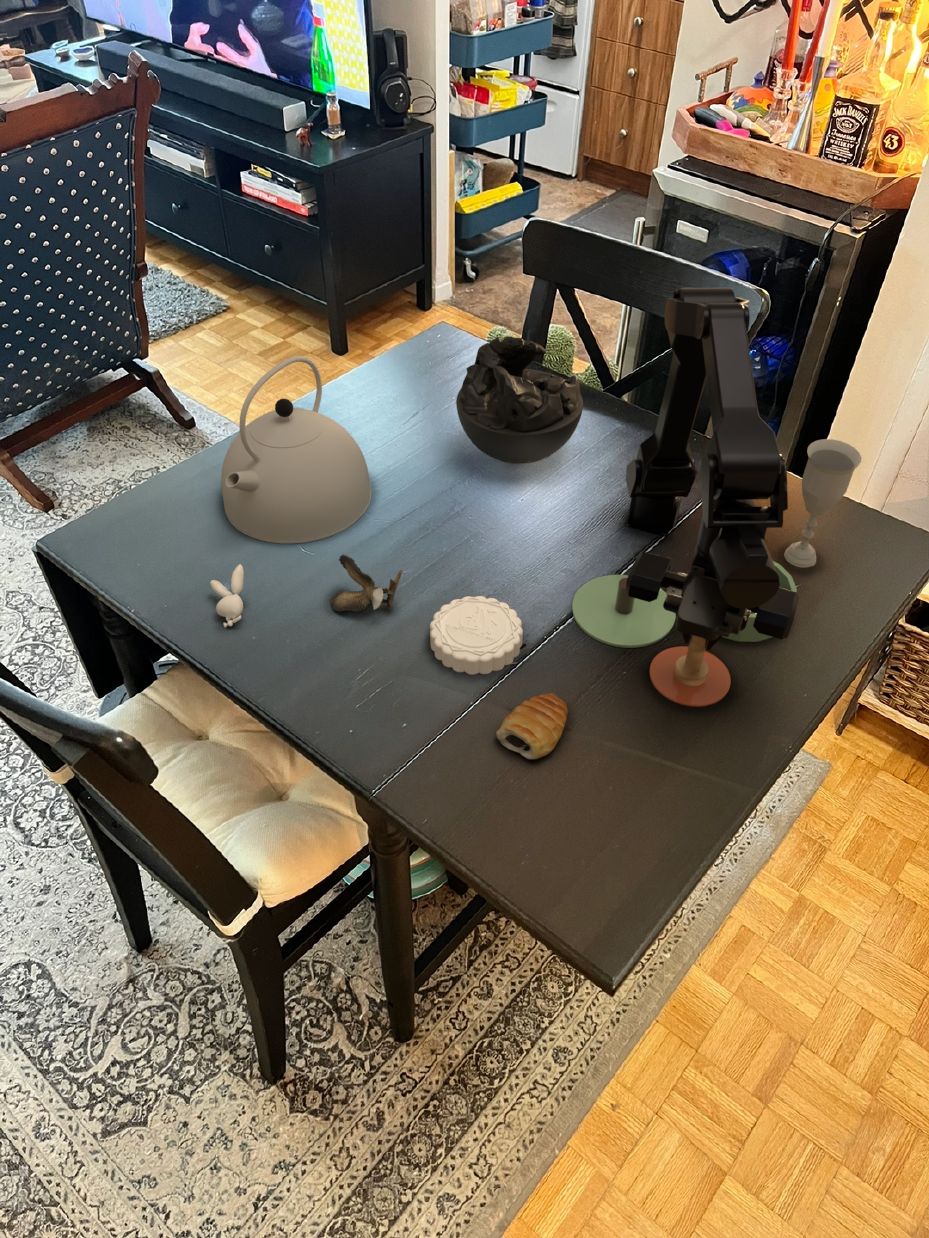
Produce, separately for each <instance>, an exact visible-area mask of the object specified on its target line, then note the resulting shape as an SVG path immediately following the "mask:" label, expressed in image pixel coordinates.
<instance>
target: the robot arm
mask: <svg viewBox="0 0 929 1238" xmlns="http://www.w3.org/2000/svg"><path fill="white" fill-rule="evenodd" d="M749 305H750V300H748V299H745V298H742V297H736V296H735V291H734V289H733V288H732V287H678V289H674V291H673V292H672V294H671V297H669V298H667V300H666V303H665V308H664V326H665V329H666V330H667V334H668V339H669V344H670V349H671V351H672V359H671V363H670V367H669V371H668V376H667V380H666V384H665V388H664V392H663V397H662V401H661V406H660V409H659V413H658V417H657V423H656V427H655V431H654V433H653V434H651V435H650V436H649V437H647V438H646V439H645V440H644V441H642V442H641V443H640V444H639V447H638V451H637V454H636V458H635V459H632V461H630V462H629V463H628V464H627V465H626V469H625V482H626V487H627V491H628V495H629V498H630V504H629V509H628V515H627V518H626V520H625V522H624V524H623V525H624V527H625V528H628V529H633V530H636V531H640V532H644V533H648V534H651V535H656V536H660V537H663V538H664V537H667V536H668V534H669V532H670V530H673V529H674V527H675V526H676V523H677V522H678V518H679V513H680V508H681V503H682V498H688V496H689V494H690V493H691V490H692V488H693V486H694V483H695V480H696V476H697V475H698V468H697V467H696V464H695V463H696V462H695V460H694V459H693V455H692V449H691V444H690V442H689V441H690V438H691V435H692V432H693V431H692V430H693V427H694V424H695V420H696V416H697V414H698V409H699V406H700V402H701V399H702V395H703V391H704V388H705V384H707V385H706V386H707V392H708V400H709V401H708V402H709V410H710V417H711V427H712V434H711V437H710V439H709V442H708V444H707V445H706V448H705V449H704V452H703V455H702V458H701V462H700V472H699V476H700V479H699V480H700V493H701V494H700V496H701V508H702V509H701V510H702V516H701V520H700V524H699V529H698V533H697V538H696V541H695V547H694V551H693V555H692V560H691V562H690V563H691V564H690V567H689V572H688V573H685V572H681V571H678V572H677V573H676V572H671V571H669V570H670V569H671V567H672V561H673V559H672V558H671V557H667V556H663V555H660V554H659V555H658V554H655V553H651V552H648V551H641V552H640V553H639V554H637V556H636V557H635V560H634V562H633V564H632V567H631V568H630V571H629V573H628V574H627V575H628V578H627V581H626V587H625V593H626V594H627V596H629V597H633V598H636V599H640V600H643V601H647V602H651V601H654V600H656V599H657V598H658V595H659V590H660V588H661V589H662V588H665V589H666V591H665V593H666V595H667V596H666V599H665V601H664V604H663V608H664V609H665V610H667V611H670V612H673V613H675V614H676V620H675V628H676V630H677V631H678V632H679V633H681V634H682V638H683V641H684V644H685V645H689V643H690V639H691V635H694V636H698V637H701V638H703V639H705V640H708V641H707V645H706V649H705V651H711V649H712V648H713V647H714V646H715V645H716V644H717V643H718V641H719V640H720V639H721V638H723V637H722V636H726V637H728V636H729V634H730V633H733V634H739V631H743V630H744V629H745V627H746V624H747V621H748V618H749V616H750V614H752V613H754V614H756V617H755V621H754V624H753V627H754V628H755V629H756V630H757V632H758V633H761V634H764V635H768V636H771V637H772V638H775V639H778V640H785V639H788V637H789V635H790V632H791V629H792V626H793V623H794V620H795V616H796V612H797V608H798V604H799V601H800V596H799V595H798V593H797V592H795V591H791V590H787V589H784V588H780V581H779V576H778V573H777V571H776V568H775V565H774V563H773V561H774V560H773V558H772V556H771V552H770V550H769V548H768V545H767V542H766V538H765V537H766V534H767V533H766V532H767V529H773V528H775V529H776V528H778V529H779V528H780V529H782V528H783V526H784V512H786V511H788V509H789V500H788V499H789V497H788V496H789V495H788V468H787V465H786V463H785V462H786V459H785V458H784V456H783V455H782V454H781V453H780V450H779V445H778V441H777V437H776V433H775V431H774V430H773V428H771V427H770V426H769V424H767V423H766V422H765V420H763V418H762V417H760V412H759V408H758V401H757V394H756V387H755V379H754V373H753V366H752V359H751V352H750V345H749V338H748V332H749V328H750V318H751V317H750V316H751V315H750V309H749ZM754 500H769V502H770V504H769V506H757V505H756V503H755V501H754Z"/></svg>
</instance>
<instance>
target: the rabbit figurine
mask: <svg viewBox="0 0 929 1238" xmlns="http://www.w3.org/2000/svg"><path fill="white" fill-rule="evenodd" d="M244 571H245V570H244V567H243V564H241V563H240V564H237V566H236V567H235V568H234V569H233V572H232V574H231V579H230V580H231V581H230V586H231V587H230V588H231V591H230V590H228V589H227V587H225V586H224V584H222V582H220V581H218V580H216V579H211V580H210V587H211V589H212V590H213V592H214V593H215V594H216V595H218V596H219V597H221V599H220V600H219V601H218V602H217V604H216V607H215V611H216V613H217V614H218V615H219V616H220V617H222V618H223V617H224V618H225V621H226V622H223V624H222V625H223V627H224V629H226V628H227V627H232V626H233V625H234V624H235V623H238V622H239V621H241V619H242V615H241V614H242V613H243V611H244V602H243V599H242V598H241V596H239V594H240V593H242V591H243V588H244V579H245V578H244V577H245V572H244Z"/></svg>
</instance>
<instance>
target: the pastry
mask: <svg viewBox="0 0 929 1238" xmlns="http://www.w3.org/2000/svg"><path fill="white" fill-rule="evenodd" d="M568 713H569V710H568V705H567V704H566V703H565V701H564V700H563V699H561V698H559V697H558V696H557V695H556V694H555V693H552V692H551V693H542V694H539V695H533V696H532V697H530V698H529V699H526V700H523V701H522V702H521V704H520V705H516V706H515V707H514V709H513V710H512V711H511V712H510V713H507V714H506V715H505V716H504V718H503V720H502V723H501V725H500V727H499V729H497V730H496V732H495V736H496V738H497V740H498V741H499V742H500V744H501V745H502V746H504V747H505V748H507V749H508V750H511V751H512V752H516V753H519V754H520V755H521V756H522V757H524V758H525V759H527V760H538V759H540V758H543V757H545V756H547V755H549V754H550V753H551V752H552V751H553V750H554V749H555V747H556V745H557V744H558V742H559V740H560V739H561V737H562V735H563V732H564V728H565V725H566V723H567V719H568Z"/></svg>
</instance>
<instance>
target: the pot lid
mask: <svg viewBox="0 0 929 1238" xmlns="http://www.w3.org/2000/svg"><path fill="white" fill-rule="evenodd" d="M628 575H629V574H608V575H602V576H598V577H595V578H593V579H590V580H589V581H587V582H585V583H584V584H583V585H581V586H580V587H579V588H578V590H577V591H576V592H575V594H574V596H573V598H572V603H571V612H572V616H573V619H574V621H575V623H576V624H577V626H578V627H579V629H580V630H582V631H583V632H584V633H585V634H586V635H587V636H589V637H590V638H592V639H594V640H596V641H597V642H600V643H602V644H605V645H607V646H612V647H616V648H621V649H622V648H623V649H635V648H636V649H637V648H643V647H647V646H651V645H654V644H656V643H658V642H660V641H661V640H663V639H664V638H665V637H667V636H668V635H669V634H670V633H671V631H672V630H673V627H674V625H675V624H676V619H677V616H676V614H675V613H673V612H670V611H667V610H665V609H664V608H663V604H664V601H665V599H666V596H667V595H666V591H664V590H663V589H662V587H661V588H660V590H659V595H658V598H657V599H656V600H654V601H651V602H647V601H643V600H640V599H636V598H633V597H629V596H627V594H626V593H625V587H626V581H627V578H628Z"/></svg>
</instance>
